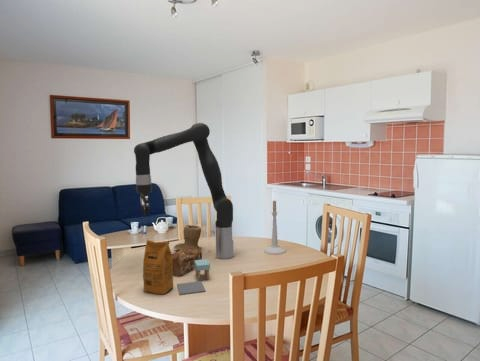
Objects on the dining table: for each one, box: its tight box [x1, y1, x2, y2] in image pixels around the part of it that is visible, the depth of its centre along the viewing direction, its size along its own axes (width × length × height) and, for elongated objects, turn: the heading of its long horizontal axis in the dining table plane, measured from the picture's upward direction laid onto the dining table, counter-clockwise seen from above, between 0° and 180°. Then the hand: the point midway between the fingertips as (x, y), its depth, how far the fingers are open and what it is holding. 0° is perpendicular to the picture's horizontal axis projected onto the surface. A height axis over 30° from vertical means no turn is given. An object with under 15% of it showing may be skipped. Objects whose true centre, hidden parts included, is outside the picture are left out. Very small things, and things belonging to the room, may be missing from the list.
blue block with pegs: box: [194, 258, 211, 281], centre depth 169 cm, size 6×8×7 cm
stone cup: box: [173, 224, 202, 251], centre depth 211 cm, size 15×12×15 cm
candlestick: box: [263, 200, 287, 256], centre depth 206 cm, size 13×13×30 cm
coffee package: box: [142, 239, 174, 295], centre depth 155 cm, size 10×12×22 cm
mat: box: [176, 280, 206, 296], centre depth 157 cm, size 11×11×1 cm
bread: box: [171, 248, 203, 277], centre depth 180 cm, size 19×11×10 cm, turn 151°
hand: (145, 214), depth 182 cm, fingers open, 8 cm apart
